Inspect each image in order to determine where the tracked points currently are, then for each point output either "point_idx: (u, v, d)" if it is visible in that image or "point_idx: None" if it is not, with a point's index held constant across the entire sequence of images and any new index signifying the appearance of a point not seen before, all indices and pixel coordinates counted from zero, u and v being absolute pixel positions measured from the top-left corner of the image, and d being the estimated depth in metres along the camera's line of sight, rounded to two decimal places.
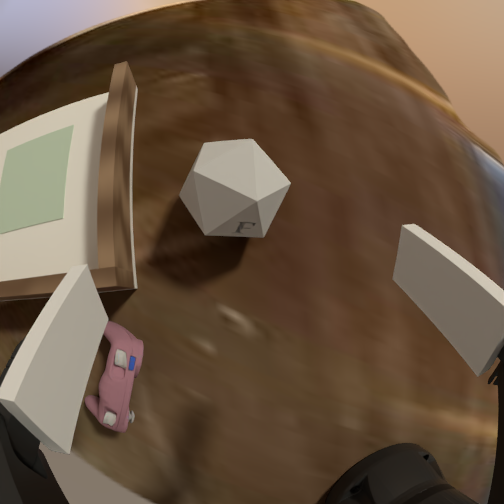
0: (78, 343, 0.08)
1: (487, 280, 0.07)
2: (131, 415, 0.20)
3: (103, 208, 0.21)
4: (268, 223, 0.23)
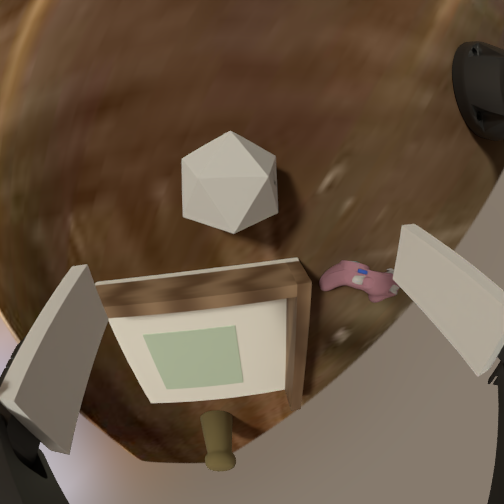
0: (78, 343, 0.08)
1: (487, 280, 0.07)
2: (390, 270, 0.32)
3: (248, 298, 0.28)
4: (266, 153, 0.23)
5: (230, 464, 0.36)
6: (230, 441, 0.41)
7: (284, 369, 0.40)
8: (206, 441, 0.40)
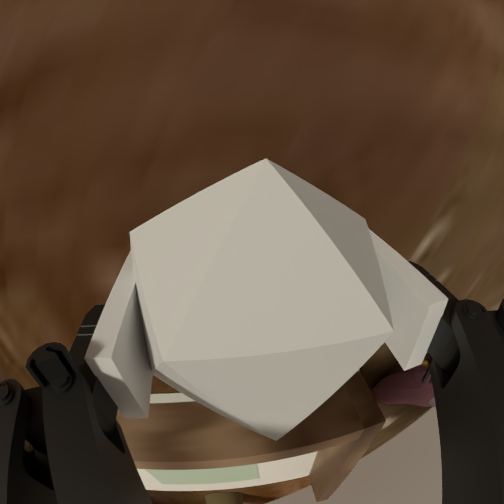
0: None
1: (411, 269, 0.08)
2: None
3: (284, 455, 0.13)
4: (354, 218, 0.09)
5: None
6: None
7: (311, 463, 0.26)
8: None
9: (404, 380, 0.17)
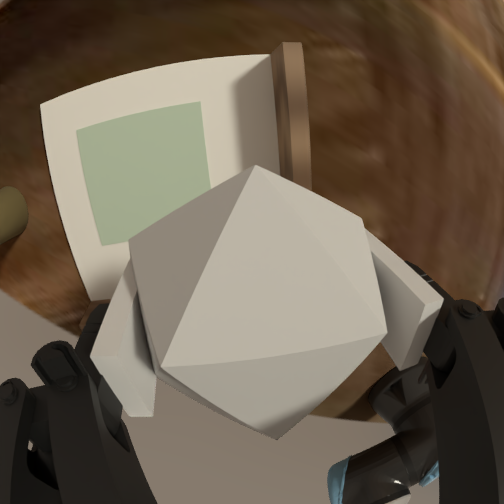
0: None
1: (407, 269, 0.08)
2: None
3: None
4: (349, 218, 0.09)
5: None
6: None
7: None
8: None
9: None
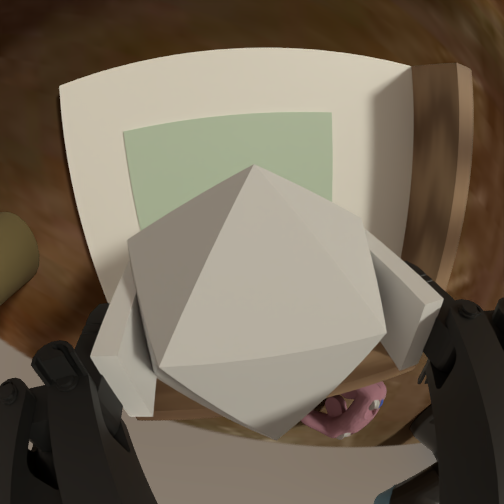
0: None
1: (406, 269, 0.08)
2: None
3: None
4: (348, 218, 0.09)
5: None
6: None
7: None
8: None
9: None
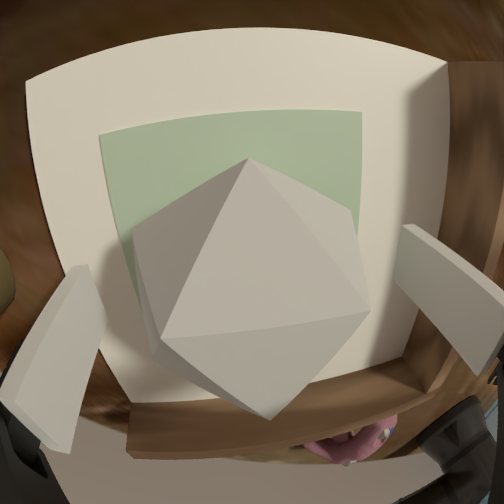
0: (79, 343, 0.08)
1: (486, 280, 0.07)
2: None
3: None
4: (337, 209, 0.09)
5: None
6: None
7: (198, 398, 0.19)
8: None
9: None
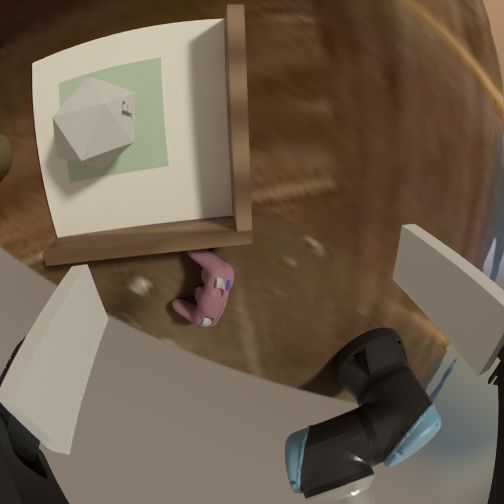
0: (78, 343, 0.08)
1: (487, 280, 0.07)
2: None
3: (240, 183, 0.26)
4: (123, 90, 0.21)
5: None
6: None
7: (92, 230, 0.30)
8: None
9: (217, 257, 0.33)
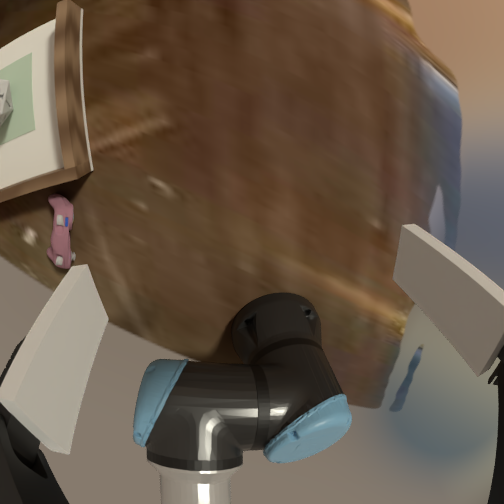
0: (78, 343, 0.08)
1: (487, 280, 0.07)
2: (73, 255, 0.34)
3: (62, 128, 0.24)
4: (1, 80, 0.19)
5: None
6: None
7: None
8: None
9: (66, 200, 0.31)
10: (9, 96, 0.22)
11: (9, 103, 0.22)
